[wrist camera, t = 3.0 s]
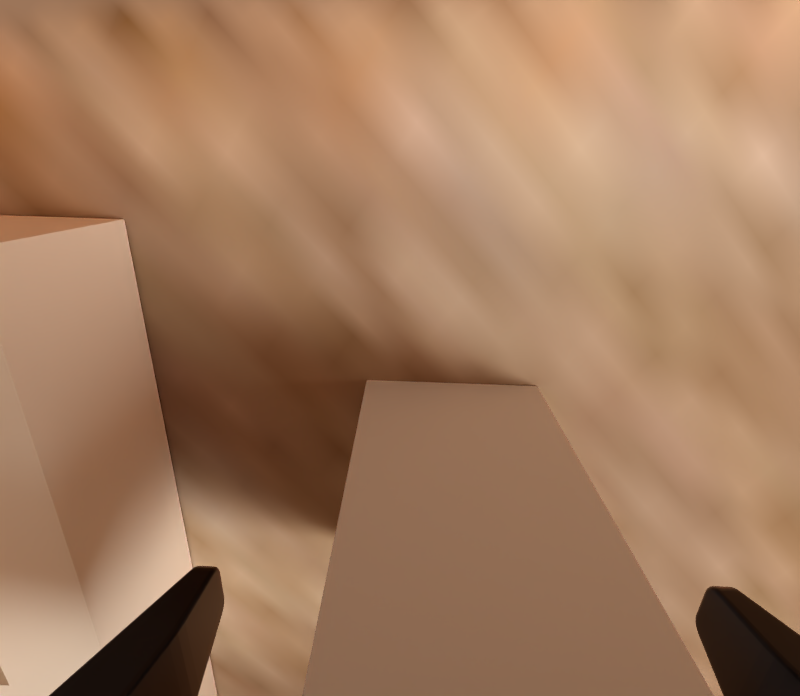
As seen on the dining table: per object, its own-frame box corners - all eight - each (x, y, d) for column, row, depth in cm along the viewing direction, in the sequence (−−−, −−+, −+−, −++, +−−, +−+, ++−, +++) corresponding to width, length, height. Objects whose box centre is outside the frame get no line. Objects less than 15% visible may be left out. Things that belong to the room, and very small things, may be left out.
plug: (536, 385, 11) (836, 908, 3) (510, 547, 12) (658, 1111, 5) (366, 379, 11) (263, 885, 3) (366, 541, 12) (302, 1094, 5)
